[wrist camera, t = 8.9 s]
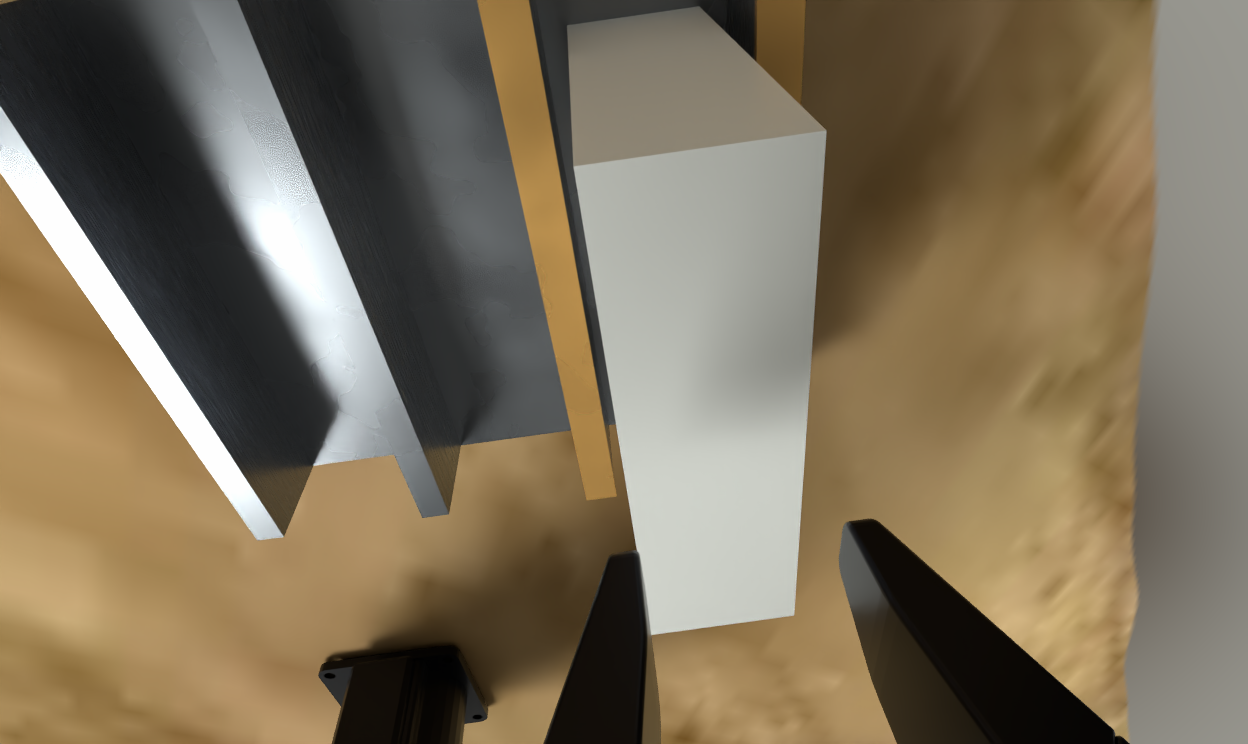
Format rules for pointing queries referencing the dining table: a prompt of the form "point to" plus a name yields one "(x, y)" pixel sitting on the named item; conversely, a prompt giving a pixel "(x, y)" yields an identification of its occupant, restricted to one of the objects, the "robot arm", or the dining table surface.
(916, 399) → the dining table surface
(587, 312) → the rack
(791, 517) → the panel
